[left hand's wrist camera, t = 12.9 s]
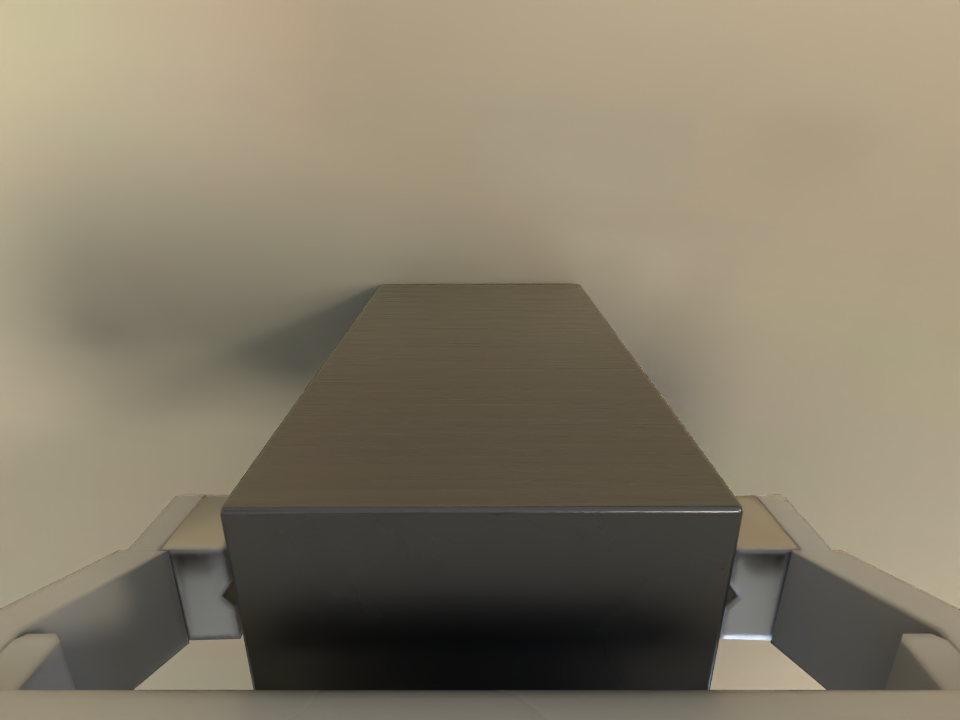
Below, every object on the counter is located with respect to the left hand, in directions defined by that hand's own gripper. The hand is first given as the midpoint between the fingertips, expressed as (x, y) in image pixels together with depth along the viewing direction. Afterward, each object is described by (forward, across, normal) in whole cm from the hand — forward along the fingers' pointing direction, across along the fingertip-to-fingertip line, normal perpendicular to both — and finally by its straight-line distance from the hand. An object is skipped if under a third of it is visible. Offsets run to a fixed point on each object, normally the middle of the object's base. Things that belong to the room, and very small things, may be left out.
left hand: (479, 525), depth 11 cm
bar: (+5, 0, -10) cm, 11 cm away
